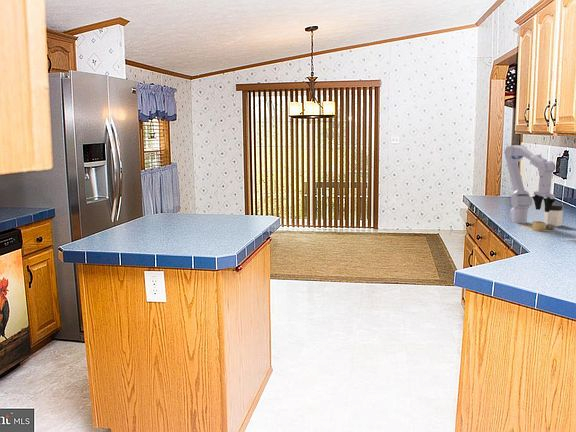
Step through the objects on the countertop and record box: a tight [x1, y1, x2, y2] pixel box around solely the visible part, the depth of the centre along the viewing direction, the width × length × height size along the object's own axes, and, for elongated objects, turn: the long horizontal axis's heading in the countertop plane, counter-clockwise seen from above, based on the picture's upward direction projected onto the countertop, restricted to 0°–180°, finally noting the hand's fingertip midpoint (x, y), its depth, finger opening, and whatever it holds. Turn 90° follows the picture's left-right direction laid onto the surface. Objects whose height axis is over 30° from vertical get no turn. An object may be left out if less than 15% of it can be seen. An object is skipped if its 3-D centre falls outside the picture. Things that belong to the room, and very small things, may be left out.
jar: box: [543, 203, 564, 227], centre depth 290 cm, size 9×8×12 cm
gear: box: [545, 223, 556, 230], centre depth 277 cm, size 5×5×3 cm
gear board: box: [519, 224, 559, 232], centre depth 280 cm, size 16×13×4 cm
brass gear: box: [531, 220, 546, 232], centre depth 276 cm, size 5×5×4 cm
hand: (542, 210), depth 281 cm, fingers open, 7 cm apart
